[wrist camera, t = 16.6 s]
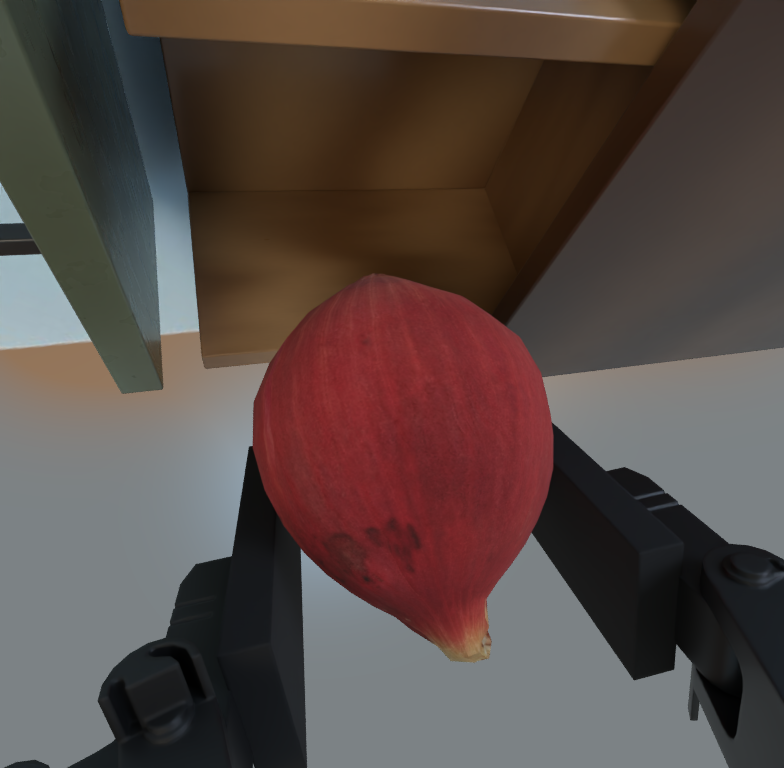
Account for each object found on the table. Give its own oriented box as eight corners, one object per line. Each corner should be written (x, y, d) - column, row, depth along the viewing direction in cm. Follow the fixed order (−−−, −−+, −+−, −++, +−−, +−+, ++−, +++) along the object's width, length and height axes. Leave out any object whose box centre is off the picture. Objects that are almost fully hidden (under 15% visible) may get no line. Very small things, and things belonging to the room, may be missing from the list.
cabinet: (402, 190, 23) (461, 387, 20) (538, -289, 12) (756, -21, 8) (690, 186, 28) (785, 347, 24) (1009, -168, 16) (1299, 43, 12)
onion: (262, 360, 15) (307, 690, 11) (202, 212, 9) (254, 745, 6) (468, 324, 15) (563, 625, 12) (519, 168, 10) (710, 627, 7)
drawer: (-18, 203, 18) (-40, 411, 15) (-434, -448, 8) (-807, -182, 4) (481, 194, 23) (540, 349, 20) (664, -202, 13) (849, 2, 9)
